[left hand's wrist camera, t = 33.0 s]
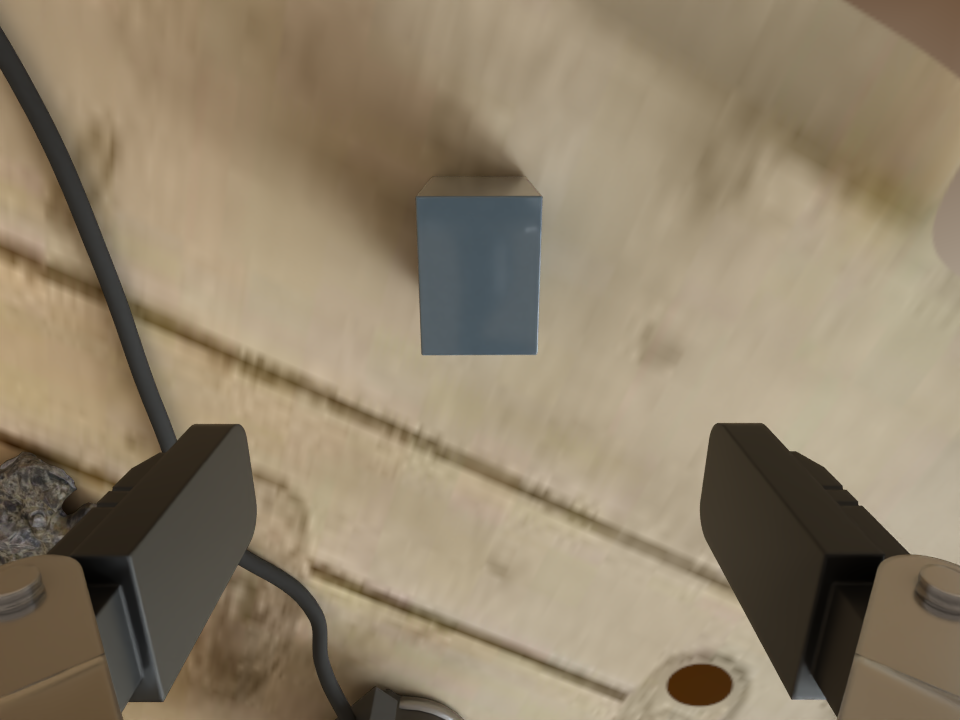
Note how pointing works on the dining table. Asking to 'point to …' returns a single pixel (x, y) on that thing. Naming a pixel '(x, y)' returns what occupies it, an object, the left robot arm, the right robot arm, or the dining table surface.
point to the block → (479, 265)
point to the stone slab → (34, 507)
